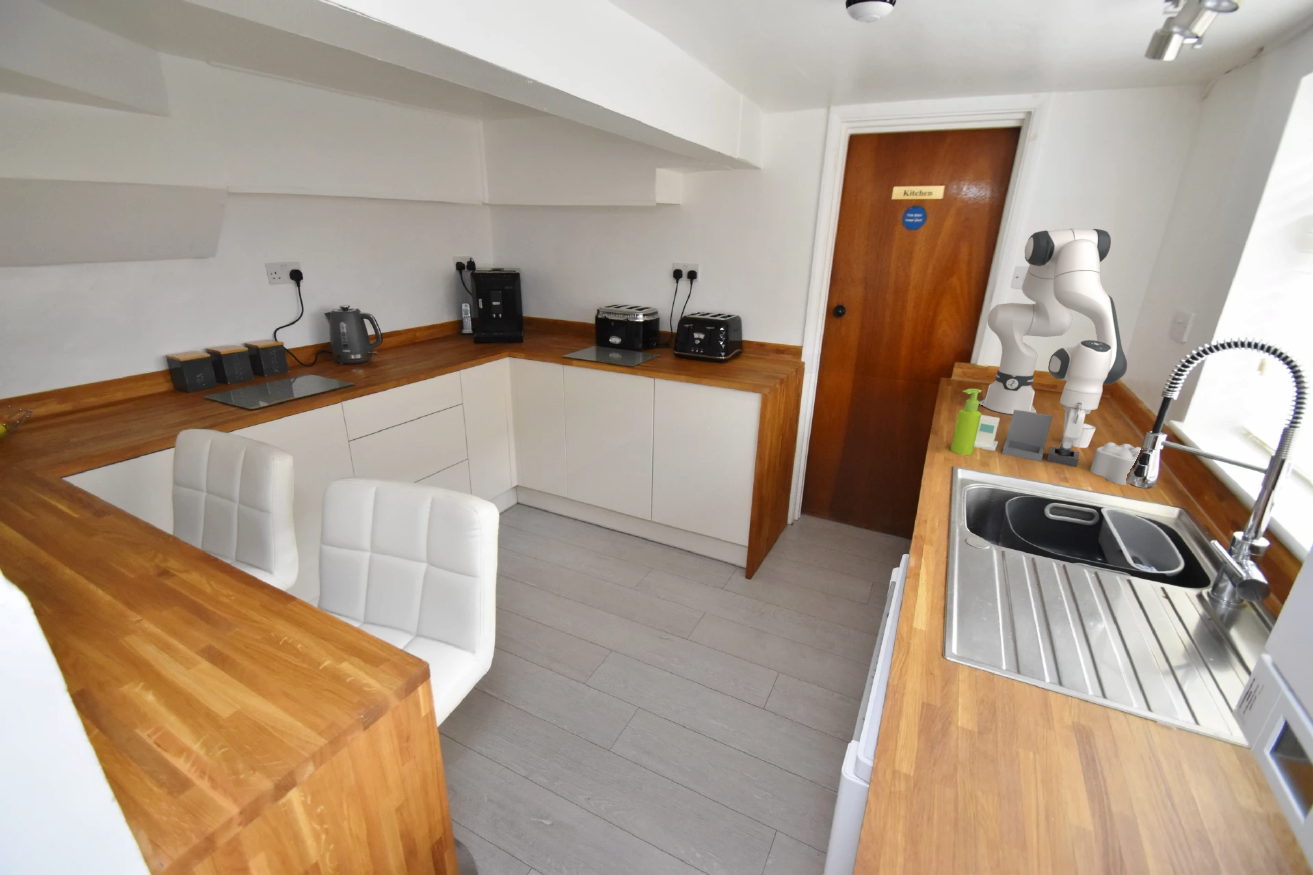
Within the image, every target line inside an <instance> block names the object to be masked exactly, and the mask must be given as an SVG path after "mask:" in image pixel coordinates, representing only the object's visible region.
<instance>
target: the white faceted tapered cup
mask: <svg viewBox="0 0 1313 875" xmlns="http://www.w3.org/2000/svg"><path fill="white" fill-rule="evenodd" d="M1096 428H1097V427H1096V426H1095V425H1092V424H1089V423H1083V427H1082V430H1081V434H1080V437H1079V439H1078V440H1074V442H1073V445H1072V447H1074V448H1080V449H1082V448H1083V449H1085V448H1086V449H1087V448H1088V447H1089V445H1090V443H1091V440H1092V438H1093V436H1094V434H1095V431H1096Z"/></svg>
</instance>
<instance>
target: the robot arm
mask: <svg viewBox="0 0 1313 875" xmlns="http://www.w3.org/2000/svg"><path fill="white" fill-rule="evenodd" d="M1111 240H1112V238H1111V235H1110V234H1109V232H1108V231H1106V230H1104V229H1098V228H1092V229H1088V228H1087V229H1086V228H1069V229H1055V230H1040V231H1036V232H1034V233H1033V234H1031V235H1030V237H1028V240H1027V242H1026V244H1025V247H1024V258H1025V261H1026V262H1027V263H1028V265H1029V266H1028V269H1027V271H1026V274H1025V277H1024V280H1023V282H1022V285H1021V290H1022V293H1023V295H1024V296H1025V297H1027V299H1029V300H1031V301H1032V302H1034V303H1017V302H1007V303H1000V304H999V303H998V304H996V305H994V307H993V308H991V310H989V313H988V316H987V325H988V327H989V329H990V330H991V331H992V332H993V333H994V334H995V335H996V337H998V339H999V342H1000V345H1001V358H1000V364H999V367H998V370H997V371H996V373H995V377H994V380H995V381H993V382H992V383H990V384H989V385H988V388H987V392H986V396H985V398H984V399H982V400H979V404H980V405H979V406H981V405H983V406H982V407H985V408H987V409H988V410H992V411H993V412H996V413H997V412H998V413H1002V414H1007V415H1013V412H1014V409H1015V410H1021V411H1027V412H1033V413H1037V410H1036V409H1035V406H1034V405H1033V404H1034V398H1035V392H1036V391H1035V389H1033V387H1032V385H1033V383H1034V381H1035V380H1034V379H1035V374H1034V372H1035V370H1036V365H1037V361H1038V358H1039V356H1038V352H1037V351H1036V349H1035V348H1033V347H1032V346H1030V345H1028V344H1027V343H1025V342H1024V341H1023V339H1024V338H1023V337H1024V336H1030V337H1043V338H1049V337H1050V338H1051V337H1060V336H1063V335H1065V333H1067V332H1068V331H1069V330H1070V328H1071V327H1072V325H1073V324H1072V323H1073V315H1072V313H1071V311H1070V310H1072V311H1074V312H1077V313H1079V314H1081V315H1083V316H1085V317H1087V318H1088V319H1090V320H1091V322H1092V323H1093V325H1094V328H1095V335H1096V340H1093V339H1091V340H1089V339H1087V340H1085V339H1084V340H1082V341H1080V342H1078V343H1077V345H1075V346H1070V347H1061V348H1058V349H1057V350H1056V351H1054V353H1053V354H1051V356H1050V358H1049V362H1048V369H1047V370H1048V372H1049V374H1050V375H1051V376H1052V377H1053V378H1054V379H1057V380H1059V381H1066V383H1065V385H1064V386H1063V390H1062V393H1061V396H1060V399H1059V403H1060V405H1062V406H1063V408H1062V409H1063V410H1064V421H1063V422H1064V423H1063V434H1062V437H1064V438H1065V440H1064V443H1063V447H1064V448H1070V447H1071V444H1072V442H1073V440H1078V439H1079V437H1080V434H1081V430H1082V427H1083V423H1084V422H1085V421H1086V420H1085V419H1086V415H1089V414H1091V412H1092V411H1093V410H1097V409H1098V407H1099V404H1100V402H1101V398H1102V395H1103V385H1105V386H1110V385H1112V384H1114V383H1116V382H1117V381H1118V380H1120V379H1122V377H1124V376H1125V375H1126V373H1127V368H1128V360H1127V357H1126V355H1125V352H1124V350H1123V346H1122V340H1121V334H1120V329H1119V328H1120V327H1119V322H1118V315H1117V311H1116V310H1117V309H1116V306H1115V302H1114V300H1113V297H1112V296H1111V295H1109V294H1107V292H1106V290H1105V289H1104V287H1103V285H1102V282H1101V281H1102V280H1101V262H1102V261H1103V260H1105V259H1106V258H1107V257H1108V254H1109V252H1110V249H1111V244H1112V242H1111Z"/></svg>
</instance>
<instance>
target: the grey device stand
mask: <svg viewBox="0 0 1313 875" xmlns="http://www.w3.org/2000/svg"><path fill="white" fill-rule="evenodd" d="M1053 417H1054V416H1053V415H1049V414H1045V413H1044V414H1043V413H1038V412H1036V413H1033V412H1027V411H1021V410H1015V409H1014V412H1013V414H1012V416H1011V420H1010V424H1009V428H1008V432H1007V436H1006V440H1005V441H1004V445H1003V449H1002V452H1001V454H1002V455H1008V456H1013V457H1017V458H1021V459H1026V460H1031V461H1036V462H1042V460H1043V456H1044V452H1045V451H1044V450H1045V445H1046V442H1047V438H1048V435H1049V431H1050V429H1051V428H1050V427H1051V423H1052V421H1053Z"/></svg>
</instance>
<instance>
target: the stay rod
mask: <svg viewBox="0 0 1313 875" xmlns="http://www.w3.org/2000/svg"><path fill="white" fill-rule="evenodd" d="M1064 440H1065V438H1064V437H1063V436H1062V437H1061V442H1060V445H1059V447H1058V448H1059V451H1058V454H1061V455H1066V456H1069V455H1070V452H1071V451H1072V448H1073V446H1072V445H1073V442H1074V440H1073V442H1072V444H1071V447H1070V448H1064V447H1063V443H1064Z"/></svg>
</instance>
